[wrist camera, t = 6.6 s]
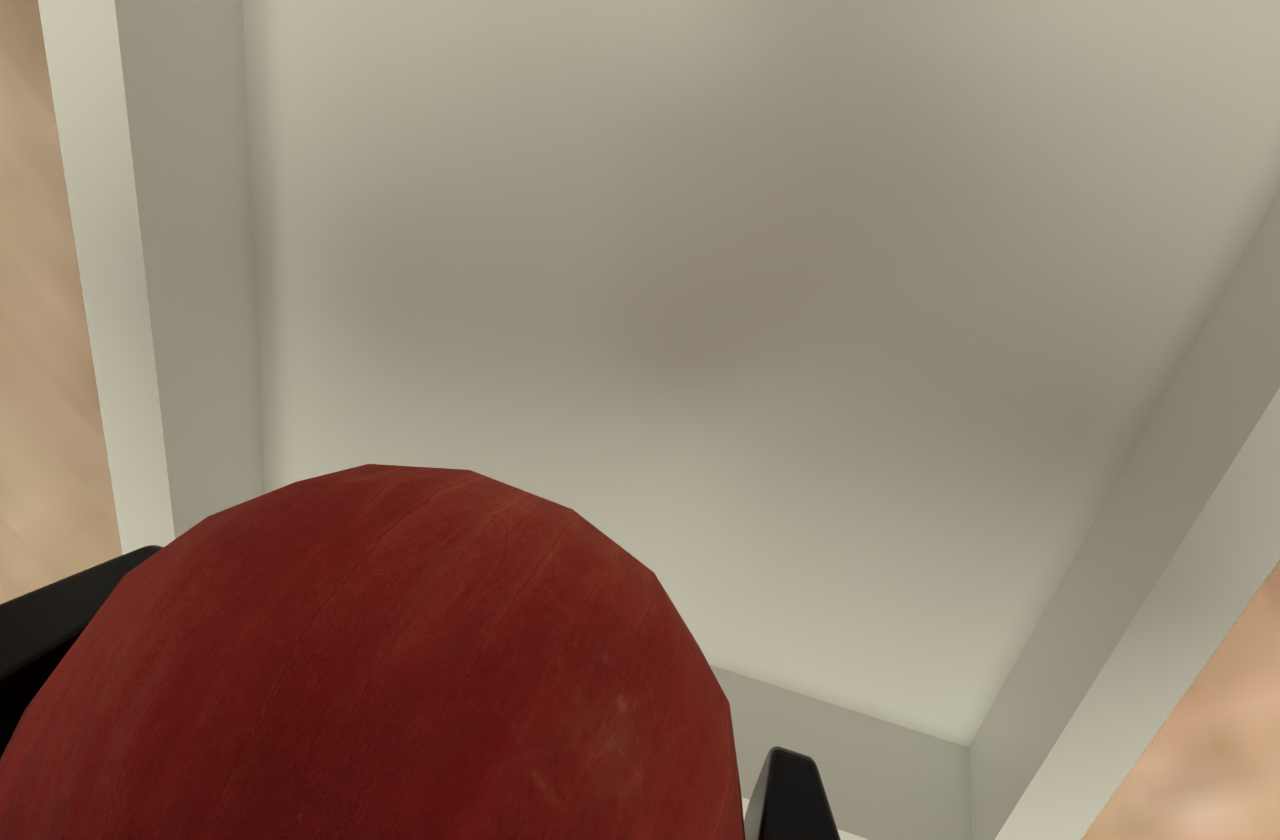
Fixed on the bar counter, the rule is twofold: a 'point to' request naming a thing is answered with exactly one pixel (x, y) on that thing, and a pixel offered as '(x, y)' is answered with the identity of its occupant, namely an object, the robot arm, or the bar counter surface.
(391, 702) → the onion
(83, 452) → the bar counter surface
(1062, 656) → the tray
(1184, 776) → the bar counter surface
